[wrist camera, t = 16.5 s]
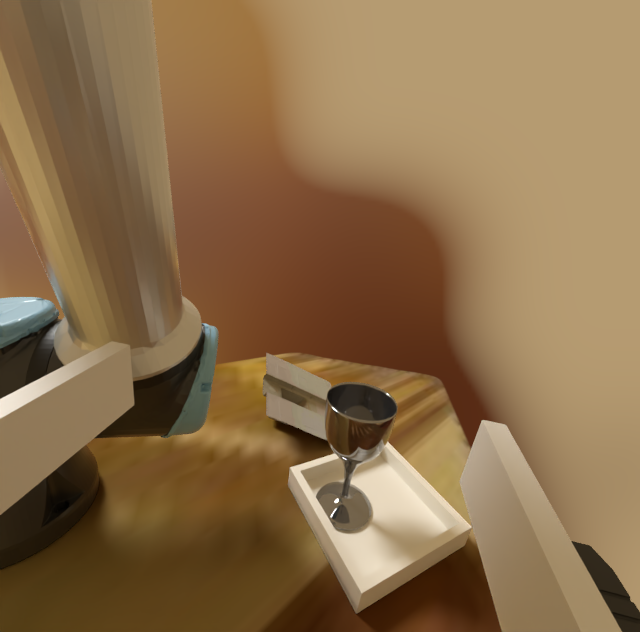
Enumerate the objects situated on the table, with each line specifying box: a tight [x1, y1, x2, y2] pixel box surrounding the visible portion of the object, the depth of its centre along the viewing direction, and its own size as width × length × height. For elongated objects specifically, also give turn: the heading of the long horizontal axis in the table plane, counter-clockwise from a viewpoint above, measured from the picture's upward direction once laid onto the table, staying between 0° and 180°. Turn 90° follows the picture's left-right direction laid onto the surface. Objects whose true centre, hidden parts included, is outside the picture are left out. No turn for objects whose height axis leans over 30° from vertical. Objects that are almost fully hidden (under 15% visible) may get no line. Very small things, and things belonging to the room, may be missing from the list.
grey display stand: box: [263, 353, 331, 440], centre depth 57 cm, size 16×9×15 cm
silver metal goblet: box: [316, 382, 397, 530], centre depth 39 cm, size 8×8×15 cm
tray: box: [288, 442, 472, 614], centre depth 41 cm, size 16×16×3 cm
